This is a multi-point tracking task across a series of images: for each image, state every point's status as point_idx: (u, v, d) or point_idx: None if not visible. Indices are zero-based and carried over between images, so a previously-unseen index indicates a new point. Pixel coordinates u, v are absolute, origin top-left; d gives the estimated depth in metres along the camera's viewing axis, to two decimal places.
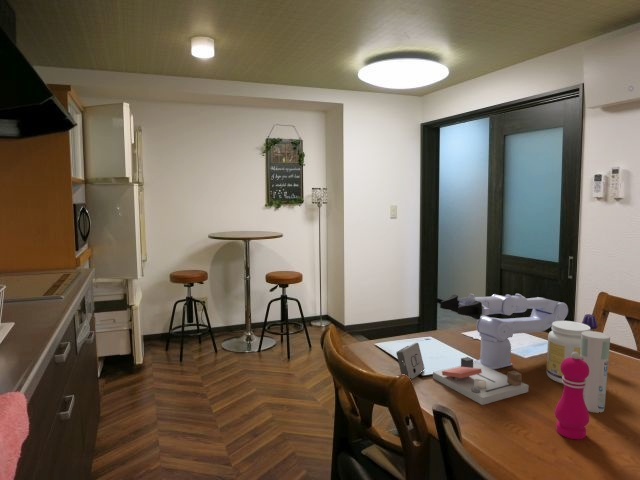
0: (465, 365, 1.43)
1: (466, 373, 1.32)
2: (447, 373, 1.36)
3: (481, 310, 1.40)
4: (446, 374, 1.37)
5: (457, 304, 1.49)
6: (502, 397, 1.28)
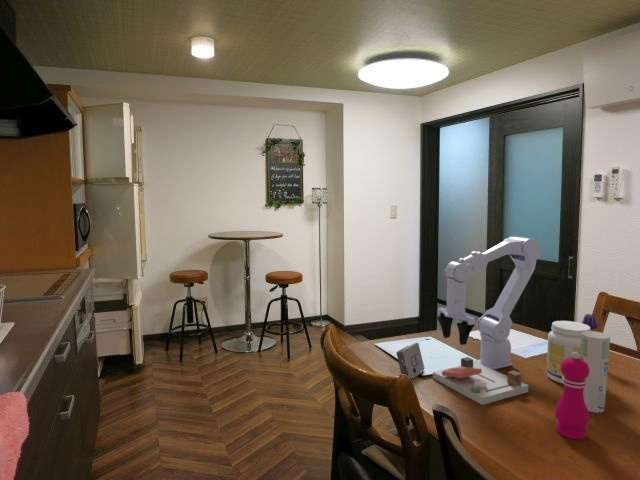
0: (465, 365, 1.43)
1: (466, 373, 1.32)
2: (447, 373, 1.36)
3: None
4: (446, 374, 1.37)
5: (447, 317, 1.51)
6: (502, 397, 1.28)
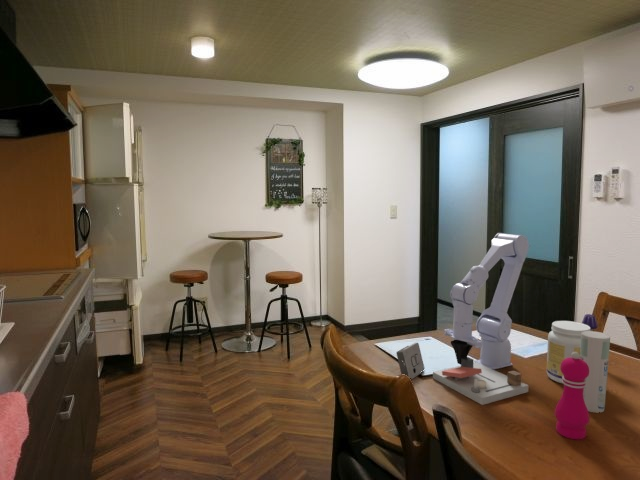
0: (465, 365, 1.43)
1: (466, 373, 1.32)
2: (447, 373, 1.36)
3: (467, 344, 1.43)
4: (446, 374, 1.37)
5: None
6: (502, 397, 1.28)
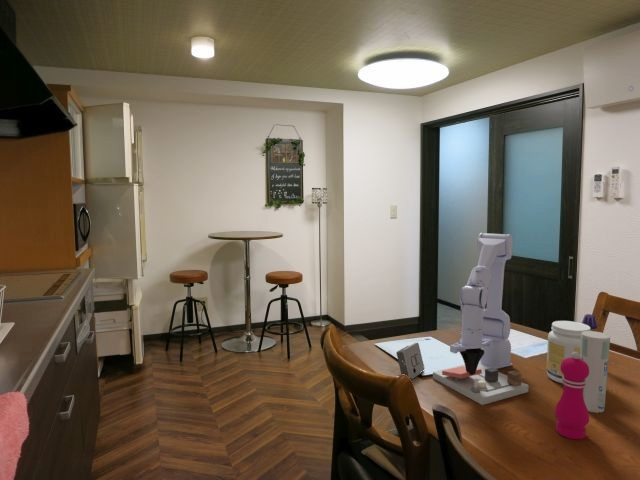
0: (490, 376, 1.34)
1: (466, 374, 1.32)
2: (447, 373, 1.36)
3: (463, 350, 1.31)
4: (446, 374, 1.37)
5: None
6: (502, 397, 1.28)
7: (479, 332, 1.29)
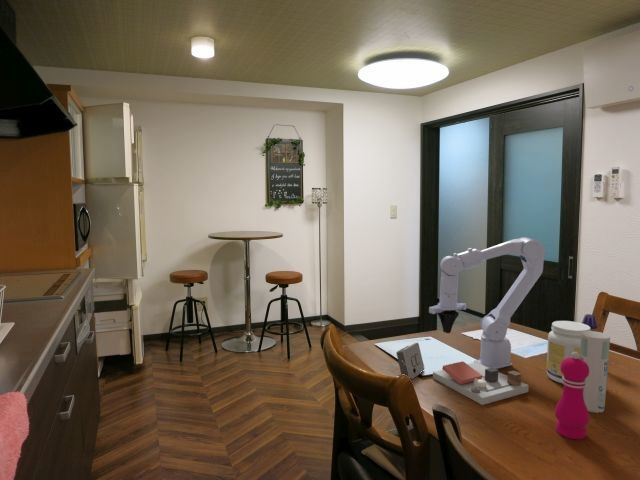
0: (490, 376, 1.34)
1: (466, 380, 1.32)
2: (448, 371, 1.36)
3: (441, 312, 1.52)
4: (446, 371, 1.36)
5: None
6: (502, 397, 1.28)
7: (454, 296, 1.50)
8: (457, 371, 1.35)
